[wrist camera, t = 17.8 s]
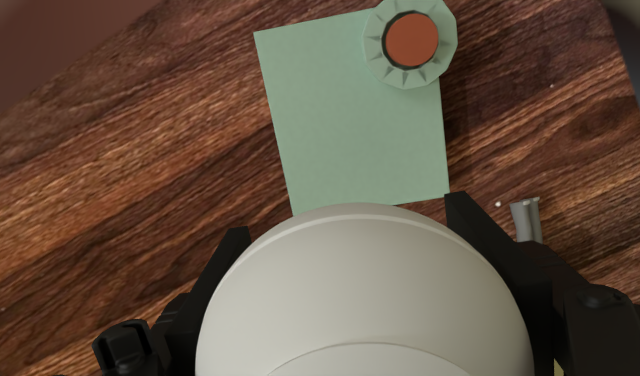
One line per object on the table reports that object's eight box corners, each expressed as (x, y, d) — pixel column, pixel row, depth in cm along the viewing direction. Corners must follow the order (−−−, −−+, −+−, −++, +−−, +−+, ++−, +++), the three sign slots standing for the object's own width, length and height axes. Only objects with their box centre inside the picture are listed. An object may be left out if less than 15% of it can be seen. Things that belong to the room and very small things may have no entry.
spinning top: (297, 337, 18) (236, 801, 7) (224, 183, 16) (-35, 482, 5) (465, 285, 17) (725, 732, 6) (411, 114, 15) (644, 284, 4)
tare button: (382, 21, 26) (385, 18, 24) (430, 11, 26) (436, 8, 24) (388, 69, 27) (391, 70, 25) (434, 60, 27) (441, 60, 25)
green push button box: (255, 26, 29) (246, 23, 26) (438, -11, 28) (453, -20, 25) (296, 213, 33) (292, 230, 30) (456, 187, 32) (470, 202, 29)
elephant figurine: (591, 189, 32) (612, 304, 32) (517, 197, 37) (533, 298, 36) (530, 200, 26) (555, 344, 26) (450, 209, 31) (470, 330, 30)
